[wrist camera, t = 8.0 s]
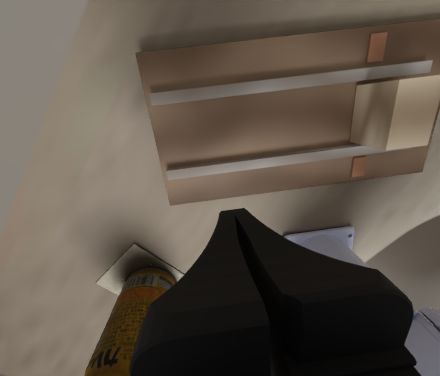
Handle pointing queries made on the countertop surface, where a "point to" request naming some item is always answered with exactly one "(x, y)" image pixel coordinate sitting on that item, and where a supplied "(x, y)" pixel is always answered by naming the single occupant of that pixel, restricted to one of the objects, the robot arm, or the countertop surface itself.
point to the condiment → (128, 308)
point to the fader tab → (395, 113)
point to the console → (278, 109)
